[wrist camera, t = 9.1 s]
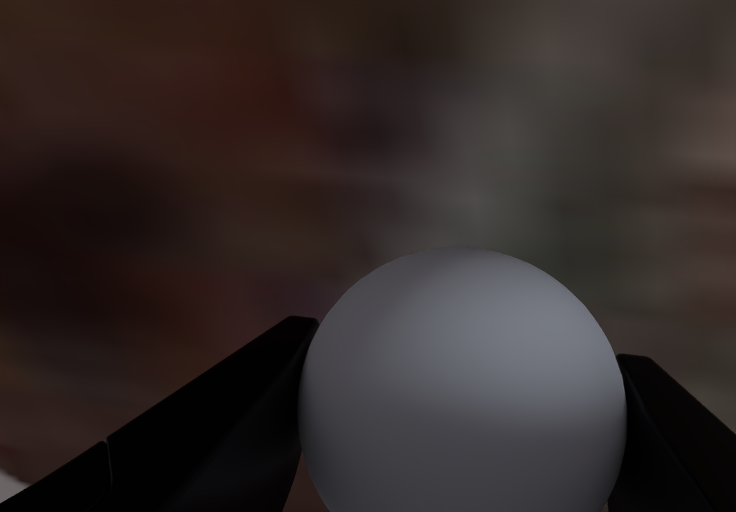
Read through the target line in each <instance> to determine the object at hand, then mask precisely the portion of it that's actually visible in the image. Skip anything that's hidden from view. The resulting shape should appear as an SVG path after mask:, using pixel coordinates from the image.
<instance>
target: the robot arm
mask: <svg viewBox="0 0 736 512" xmlns="http://www.w3.org/2000/svg"><path fill="white" fill-rule="evenodd" d="M319 326H320V325H319V322H318V320H317V319H315V318H309V317H300V316H289V317H287V318H285V319H284V320H282V321H281V322H279V323H278V324H276V325H275V326H273V327H272V328H270V329H269V330H267V331H266V332H264V333H263V334H261V335H260V336H258V337H257V338H255V339H254V340H252V341H251V342H249V343H248V344H246V345H245V346H243V347H242V348H240V349H239V350H237V351H236V352H234V353H233V354H231V355H230V356H228V357H227V358H225V359H224V360H222V361H221V362H219V363H218V364H216V365H215V366H213V367H212V368H210V369H209V370H207V371H206V372H204V373H203V374H201V375H200V376H198V377H197V378H195V379H194V380H192V381H191V382H189V383H188V384H186V385H185V386H183V387H182V388H180V389H179V390H177V391H176V392H174V393H172V394H171V395H169V396H168V397H166V398H165V399H163V400H162V401H160V402H159V403H157V404H156V405H154V406H153V407H151V408H150V409H148V410H147V411H145V412H144V413H142V414H141V415H139V416H138V417H136V418H135V419H133V420H132V421H130V422H129V423H127V424H126V425H124V426H123V427H121V428H120V429H118V430H117V431H115V432H114V433H112V434H111V435H109V436H108V437H107V438H106V440H105V442H106V444H105V442H104V441H100V442H98V443H97V444H95V445H94V446H92V447H91V448H89V449H88V450H86V451H85V452H83V453H82V454H80V455H79V456H77V457H76V458H74V459H73V460H71V461H69V462H68V463H66V464H65V465H63V466H61V467H60V468H58V469H57V470H55V471H54V472H52V473H50V474H49V475H47V476H46V477H44V478H43V479H41V480H39V481H38V482H36V483H34V484H33V485H31V486H29V487H28V488H26V489H24V490H22V491H21V492H19V493H18V494H15V495H14V496H12V497H10V498H9V499H7V500H5V501H3V502H2V503H0V512H282V511H283V508H284V505H285V503H286V500H287V497H288V495H289V492H290V489H291V486H292V484H293V481H294V478H295V475H296V471H297V467H298V463H299V460H300V456H301V452H302V448H301V445H300V437H299V429H298V419H297V403H298V389H299V381H300V377H301V372H302V368H303V364H304V361H305V357H306V354H307V352H308V349H309V347H310V344H311V342H312V339H313V338H314V336H315V334H316V332H317V330H318V328H319ZM615 358H616V360H617V363H618V366H619V369H620V372H621V375H622V379H623V385H624V391H625V397H626V403H627V441H626V446H625V451H624V456H623V461H622V465H621V469H620V473H619V475H618V478H617V480H616V483H615V485H614V488H613V490H612V492H611V494H610V496H609V498H608V510H609V512H736V434H735V433H734V432H733V431H731V430H730V429H729V428H728V427H727V426H726V425H725V424H724V423H723V422H721V421H720V420H719V419H718V418H717V417H716V416H715V415H714V414H713V413H711V412H710V411H709V410H708V409H707V408H706V407H705V406H704V405H702V404H701V403H700V402H699V401H698V400H697V399H696V398H695V397H694V396H692V395H691V394H690V393H689V392H688V391H687V390H686V389H685V388H683V387H682V386H681V385H680V384H679V383H678V382H677V381H676V380H675V379H673V378H672V377H671V376H670V375H669V374H668V373H667V372H666V371H664V370H663V369H662V368H661V367H660V366H659V365H658V364H657V363H656V362H654V361H653V360H652V359H651V358H649V357H646V356H638V355H630V354H618V355H617V356H616V357H615Z"/></svg>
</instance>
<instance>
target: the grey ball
mask: <svg viewBox="0 0 736 512" xmlns="http://www.w3.org/2000/svg"><path fill="white" fill-rule="evenodd" d="M297 419H298V429H299V437H300V445H301V448H302V452H303V455H304V459H305V462H306V465H307V468H308V472H309V474H310V477H311V479H312V481H313V483H314V485H315V487H316V489H317V491H318V493H319V495H320V497H321V498H322V500H323V502H324V503H325V505H326V506H327V508H328V510H329V511H330V512H601V510H602V509H603V507H604V505H605V504H606V502H607V500H608V498H609V496H610V494H611V492H612V490H613V488H614V485H615V483H616V480H617V478H618V475H619V473H620V469H621V465H622V461H623V456H624V451H625V446H626V441H627V403H626V397H625V391H624V385H623V379H622V375H621V372H620V369H619V366H618V363H617V360H616V358H615V355H614V353H613V350H612V348H611V345H610V343H609V342H608V340H607V338H606V336H605V334H604V333H603V331H602V329H601V328H600V326H599V325H598V323H597V322H596V320H595V319H594V317H593V316H592V315H591V314H590V312H589V311H588V310H587V308H586V307H585V306H584V304H583V303H581V302H580V301H579V300H578V299H577V298H576V297H575V296H574V295H573V294H572V293H571V292H570V291H569V290H568V289H567V288H566V287H565V286H563V285H562V284H561V283H559V282H558V281H557V280H555V279H554V278H553V277H551V276H550V275H549V274H547V273H545V272H544V271H542V270H540V269H538V268H537V267H535V266H533V265H531V264H529V263H526V262H524V261H522V260H519V259H517V258H514V257H512V256H509V255H505V254H502V253H498V252H494V251H491V250H484V249H478V248H468V247H447V248H436V249H431V250H425V251H420V252H416V253H413V254H409V255H406V256H403V257H400V258H397V259H395V260H393V261H391V262H389V263H386V264H384V265H382V266H380V267H379V268H377V269H376V270H374V271H373V272H371V273H369V274H368V275H366V276H365V277H364V278H362V279H361V280H359V281H358V282H357V283H356V284H355V285H353V286H352V287H351V288H350V289H349V290H348V291H346V292H345V294H344V295H343V296H342V297H341V298H340V299H339V300H338V302H337V303H336V304H335V305H334V306H333V308H332V309H331V310H330V311H329V312H328V314H327V315H326V317H325V318H324V320H323V321H322V323H321V325H320V326H319V328H318V330H317V332H316V334H315V336H314V338H313V339H312V342H311V344H310V347H309V349H308V352H307V354H306V357H305V361H304V364H303V368H302V372H301V377H300V381H299V389H298V403H297Z"/></svg>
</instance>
